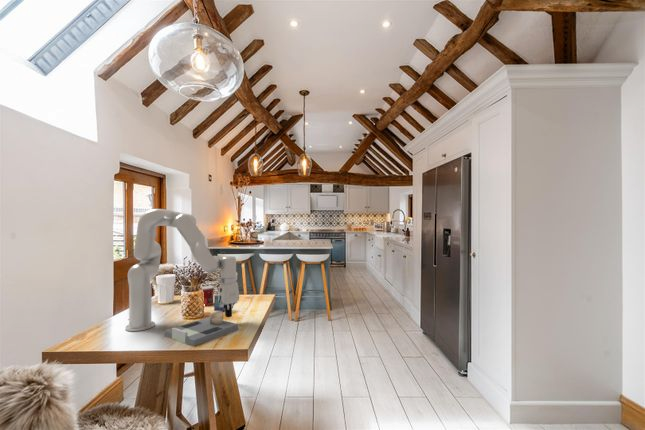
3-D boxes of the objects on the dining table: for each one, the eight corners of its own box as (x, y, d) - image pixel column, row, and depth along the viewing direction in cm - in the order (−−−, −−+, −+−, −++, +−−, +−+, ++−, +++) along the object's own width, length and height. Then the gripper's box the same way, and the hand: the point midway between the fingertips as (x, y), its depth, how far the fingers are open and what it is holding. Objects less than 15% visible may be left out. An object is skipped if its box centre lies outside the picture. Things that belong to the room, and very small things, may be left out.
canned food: (209, 306, 191) (209, 288, 192) (197, 306, 193) (197, 288, 193) (215, 303, 199) (215, 286, 199) (204, 302, 201) (204, 285, 201)
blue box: (227, 311, 182) (227, 292, 182) (224, 312, 179) (224, 293, 179) (216, 309, 186) (216, 291, 186) (212, 310, 184) (212, 292, 184)
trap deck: (164, 335, 143) (164, 325, 143) (209, 321, 163) (209, 312, 163) (193, 346, 131) (193, 335, 131) (238, 329, 151) (238, 320, 151)
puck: (207, 323, 153) (207, 312, 153) (217, 319, 158) (217, 309, 158) (215, 325, 150) (215, 314, 150) (225, 322, 155) (225, 311, 155)
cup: (178, 300, 208) (178, 274, 208) (171, 304, 197) (171, 277, 197) (160, 300, 207) (160, 274, 207) (152, 305, 196) (152, 277, 196)
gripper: (221, 283, 152) (221, 321, 152) (244, 279, 164) (244, 314, 164) (211, 282, 156) (211, 319, 156) (234, 277, 168) (235, 311, 168)
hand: (228, 316), depth 160 cm, fingers closed
